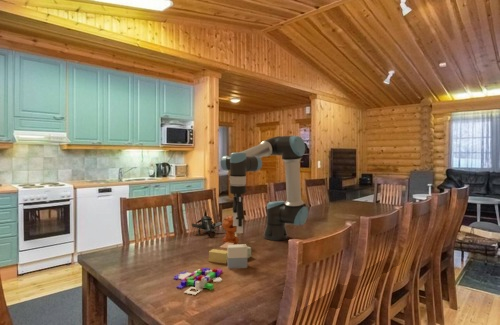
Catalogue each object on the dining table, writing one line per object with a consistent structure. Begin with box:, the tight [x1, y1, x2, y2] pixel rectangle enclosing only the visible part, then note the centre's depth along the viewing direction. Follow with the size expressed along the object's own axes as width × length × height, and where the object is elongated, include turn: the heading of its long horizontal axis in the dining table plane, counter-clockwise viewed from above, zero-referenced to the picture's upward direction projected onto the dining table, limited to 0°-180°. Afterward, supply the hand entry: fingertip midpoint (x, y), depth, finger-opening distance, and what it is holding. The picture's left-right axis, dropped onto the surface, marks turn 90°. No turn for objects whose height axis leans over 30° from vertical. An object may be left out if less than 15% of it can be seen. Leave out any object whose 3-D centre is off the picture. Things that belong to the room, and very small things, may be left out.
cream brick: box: [227, 243, 248, 259], centre depth 148 cm, size 9×4×5 cm, turn 99°
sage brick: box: [247, 246, 252, 259], centre depth 161 cm, size 9×4×5 cm, turn 137°
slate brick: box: [226, 258, 248, 270], centre depth 149 cm, size 9×4×5 cm, turn 98°
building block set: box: [173, 267, 223, 296], centre depth 132 cm, size 25×20×4 cm
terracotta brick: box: [218, 242, 234, 251], centre depth 166 cm, size 9×4×5 cm, turn 160°
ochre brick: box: [208, 248, 228, 264], centre depth 156 cm, size 9×4×5 cm, turn 72°
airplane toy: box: [191, 210, 223, 237], centre depth 207 cm, size 20×19×15 cm
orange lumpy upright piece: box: [221, 215, 240, 245], centre depth 182 cm, size 11×11×18 cm
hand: (237, 229), depth 149 cm, fingers open, 13 cm apart
